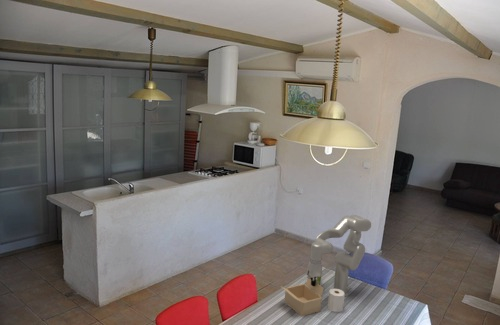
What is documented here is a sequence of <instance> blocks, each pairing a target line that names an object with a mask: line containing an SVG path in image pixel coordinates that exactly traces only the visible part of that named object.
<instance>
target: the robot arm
mask: <svg viewBox="0 0 500 325" xmlns="http://www.w3.org/2000/svg"><path fill="white" fill-rule="evenodd" d="M371 228H372V222H371V221H370V220H369V219H367V218H365V217H362V216H359V215H356V214H352V215H350V216H349V215H344V216H343V217H342V218H341V219H340V220H339V221H338V222H337V223H336V224H335V225H334V226H333V228H330V229H327V230H324V231H322V232H321V233H320V234H318V236H317V237H316V238H315V239H314V241H313V242H312V243H311V247H310V248H311V249H310V258H309V261H308V264H307V268H306V276H307V277H306V279H307V278H308V279H311V285H312V286H316V280H317V278H318V277H320V276H321V277H322V274H323V273H322V272H323V264H322V260H323V254H325V255H326V254H330V253H332V252H333V250H334V245H333V244H332V243H330V242H329V241H326V240H328V239H339V238H342V237H344V236H345V234H346V233H347V232H348V231H349V234H348V236H347V238H346V240H345V242H344V244H343V250H345V251H346V252H344V251H339V252H337V253H336V255H335V256H334V260H335V272H334V279H333V280H334V281H333V287H332V288H331V289H334V288H335V289H340V290H342V291H343V292H344V293H345V295H344V298H346V297H348V296H349V291H348V290H352V286H348V280H349V272H350V271H356V270H357V269H358V267H359V265H360V264H361V261H362V260H363V258H364V255H365V252H366V246H365V245H364V244H363V243H360V240H361V238H362V232H368V231H369V230H370V229H371ZM349 253H350V254H349ZM351 254H352V255H351ZM349 270H350V271H349ZM321 273H322V274H321Z"/></svg>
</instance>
